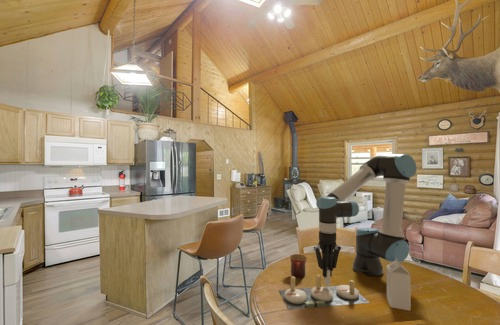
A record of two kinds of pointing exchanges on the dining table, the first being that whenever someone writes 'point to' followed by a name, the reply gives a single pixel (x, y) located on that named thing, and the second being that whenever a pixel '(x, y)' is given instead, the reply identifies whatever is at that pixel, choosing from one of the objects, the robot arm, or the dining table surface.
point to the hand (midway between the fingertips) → (327, 283)
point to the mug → (298, 265)
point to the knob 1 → (295, 294)
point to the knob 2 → (348, 290)
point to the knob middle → (321, 291)
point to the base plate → (315, 303)
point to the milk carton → (398, 286)
